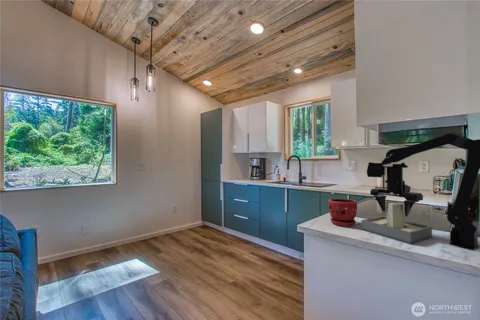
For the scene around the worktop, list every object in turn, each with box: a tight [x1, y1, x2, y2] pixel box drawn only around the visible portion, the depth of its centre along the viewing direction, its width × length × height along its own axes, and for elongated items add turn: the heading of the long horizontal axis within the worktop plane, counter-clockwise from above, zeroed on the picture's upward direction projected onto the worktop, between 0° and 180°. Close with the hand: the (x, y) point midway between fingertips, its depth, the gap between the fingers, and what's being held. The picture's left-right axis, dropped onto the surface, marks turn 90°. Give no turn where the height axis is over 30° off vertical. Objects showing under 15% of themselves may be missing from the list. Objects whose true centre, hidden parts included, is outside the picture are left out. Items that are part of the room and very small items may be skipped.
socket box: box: [361, 215, 433, 245], centre depth 99 cm, size 20×16×4 cm
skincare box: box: [385, 201, 405, 229], centre depth 99 cm, size 6×4×12 cm
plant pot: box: [327, 198, 358, 227], centre depth 114 cm, size 13×13×12 cm
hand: (394, 214), depth 98 cm, fingers open, 9 cm apart
